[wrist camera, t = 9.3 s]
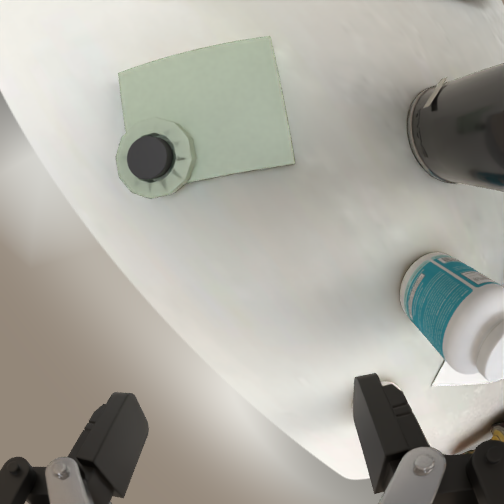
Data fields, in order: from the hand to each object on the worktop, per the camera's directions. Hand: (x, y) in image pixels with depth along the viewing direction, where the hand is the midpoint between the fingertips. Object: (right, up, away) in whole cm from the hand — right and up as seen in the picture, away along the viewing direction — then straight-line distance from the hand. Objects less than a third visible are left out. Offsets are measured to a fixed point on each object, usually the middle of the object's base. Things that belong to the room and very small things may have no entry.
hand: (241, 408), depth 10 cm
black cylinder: (-7, +13, +12) cm, 19 cm away
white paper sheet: (+29, -6, +20) cm, 36 cm away
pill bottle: (+18, +2, +18) cm, 25 cm away
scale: (-4, +17, +14) cm, 22 cm away
